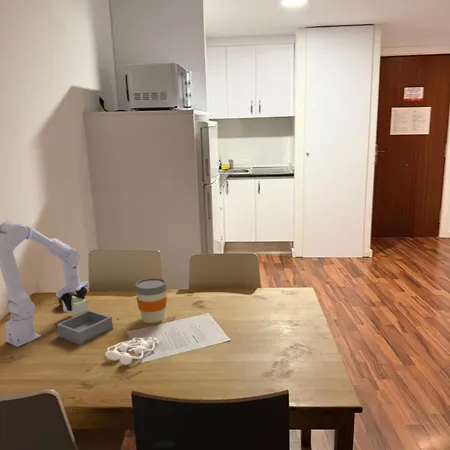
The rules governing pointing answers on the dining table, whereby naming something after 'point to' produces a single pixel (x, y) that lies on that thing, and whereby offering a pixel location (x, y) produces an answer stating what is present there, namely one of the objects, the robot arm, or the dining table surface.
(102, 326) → the charcoal crate
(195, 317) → the dining table surface
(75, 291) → the pottery mug
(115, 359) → the white tangled earphones
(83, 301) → the sage crate
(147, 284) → the reusable coffee cup
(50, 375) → the dining table surface
